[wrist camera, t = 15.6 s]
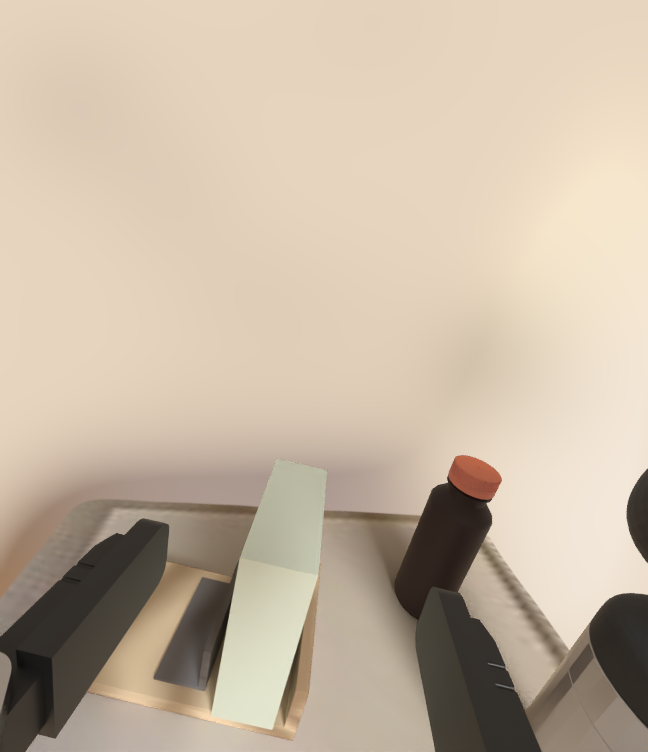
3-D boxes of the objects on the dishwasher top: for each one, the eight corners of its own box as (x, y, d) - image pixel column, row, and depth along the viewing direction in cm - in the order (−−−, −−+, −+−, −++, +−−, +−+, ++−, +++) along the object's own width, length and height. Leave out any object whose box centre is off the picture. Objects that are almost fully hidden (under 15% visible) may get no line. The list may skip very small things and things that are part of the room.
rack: (308, 604, 36) (320, 563, 34) (292, 740, 25) (308, 693, 23) (157, 568, 36) (160, 525, 34) (78, 690, 25) (76, 637, 23)
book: (293, 594, 35) (327, 470, 30) (272, 730, 24) (318, 575, 19) (250, 584, 35) (276, 458, 30) (210, 716, 24) (239, 557, 19)
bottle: (411, 629, 36) (476, 490, 29) (384, 574, 42) (433, 449, 35) (457, 620, 38) (526, 488, 32) (425, 569, 44) (478, 450, 38)
